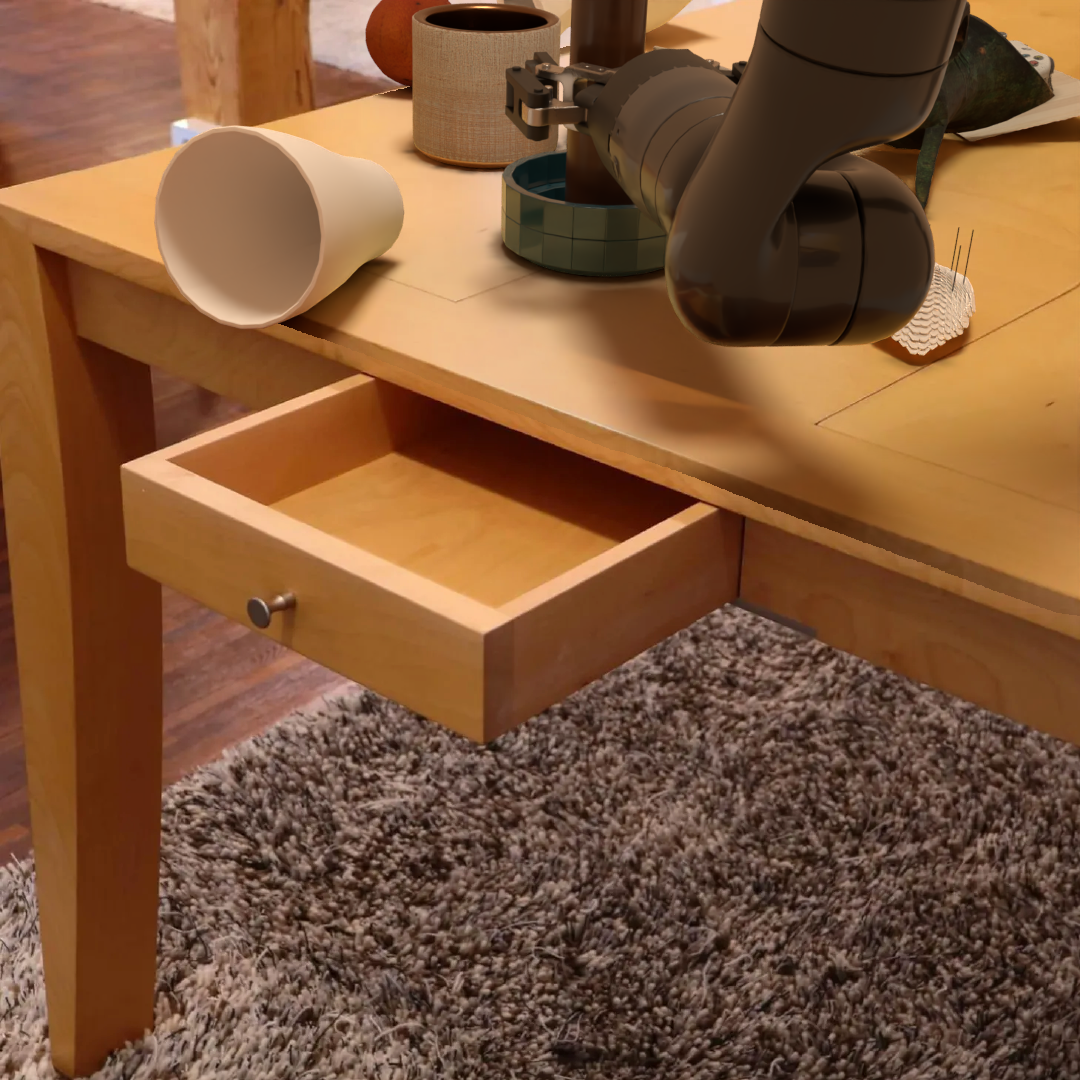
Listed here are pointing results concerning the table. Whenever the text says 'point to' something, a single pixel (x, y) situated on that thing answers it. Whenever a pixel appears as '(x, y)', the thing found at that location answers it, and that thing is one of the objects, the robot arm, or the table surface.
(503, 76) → the planter
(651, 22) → the vase
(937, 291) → the pincushion
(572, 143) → the rolling pin
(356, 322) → the table surface
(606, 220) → the bowl
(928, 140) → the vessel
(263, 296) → the cup
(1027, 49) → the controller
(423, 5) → the fruit
